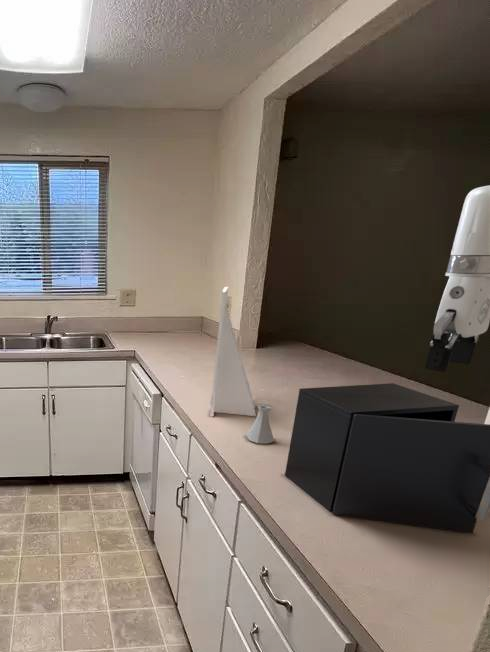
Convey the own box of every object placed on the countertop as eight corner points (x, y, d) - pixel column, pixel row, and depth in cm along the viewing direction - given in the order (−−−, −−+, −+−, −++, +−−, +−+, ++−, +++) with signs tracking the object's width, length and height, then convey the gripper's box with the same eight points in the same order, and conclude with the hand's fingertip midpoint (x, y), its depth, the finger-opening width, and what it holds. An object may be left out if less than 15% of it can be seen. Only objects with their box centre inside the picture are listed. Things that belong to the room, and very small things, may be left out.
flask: (256, 445, 121) (261, 412, 118) (241, 435, 128) (245, 403, 124) (278, 443, 123) (284, 410, 119) (263, 433, 129) (267, 401, 126)
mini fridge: (430, 501, 94) (459, 405, 86) (329, 511, 90) (351, 412, 82) (372, 467, 108) (393, 383, 101) (284, 475, 105) (299, 388, 97)
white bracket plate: (256, 421, 139) (273, 292, 125) (210, 416, 143) (222, 291, 130) (254, 402, 157) (270, 287, 143) (213, 398, 161) (224, 287, 147)
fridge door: (488, 550, 78) (530, 439, 70) (339, 529, 84) (363, 425, 77) (469, 530, 83) (506, 425, 76) (332, 511, 90) (353, 413, 82)
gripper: (483, 269, 66) (451, 378, 71) (523, 266, 74) (492, 364, 80) (426, 268, 72) (401, 368, 77) (469, 266, 80) (444, 356, 86)
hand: (447, 366), depth 79 cm, fingers open, 9 cm apart
